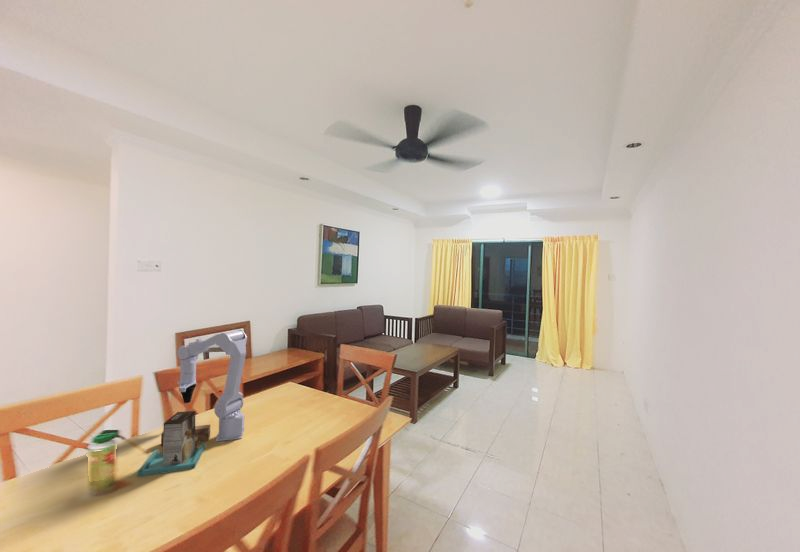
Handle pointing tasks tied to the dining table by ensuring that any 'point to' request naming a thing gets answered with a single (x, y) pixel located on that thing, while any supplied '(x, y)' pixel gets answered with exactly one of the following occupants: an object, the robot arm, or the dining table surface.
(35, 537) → the dining table surface
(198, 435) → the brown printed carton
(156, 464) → the tray
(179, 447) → the coffee box
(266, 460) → the dining table surface
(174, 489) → the dining table surface
